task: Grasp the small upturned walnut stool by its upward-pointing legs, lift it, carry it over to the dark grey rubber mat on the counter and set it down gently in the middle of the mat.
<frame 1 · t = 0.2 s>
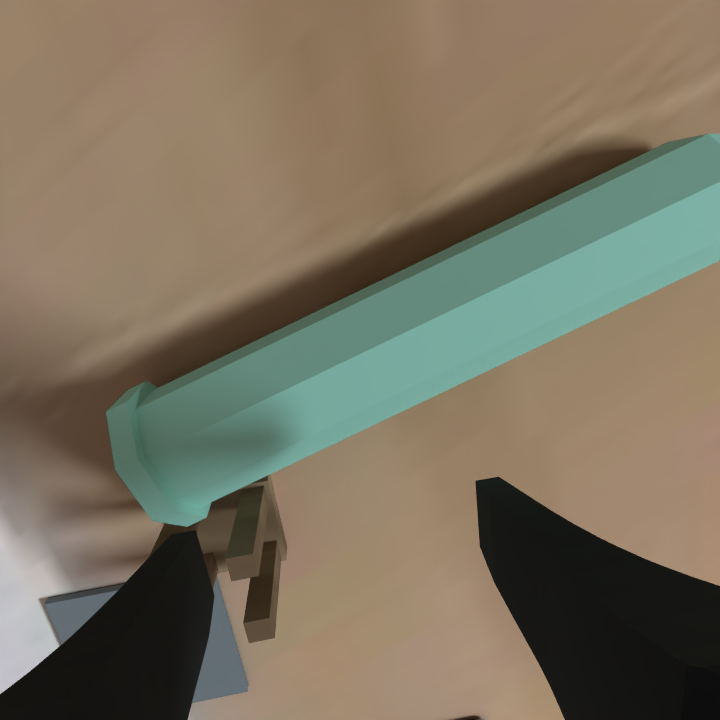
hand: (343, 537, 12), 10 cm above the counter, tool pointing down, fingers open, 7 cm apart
container: (427, 309, 21), on the counter
mat: (154, 643, 24), on the counter
stool: (233, 517, 23), on the counter
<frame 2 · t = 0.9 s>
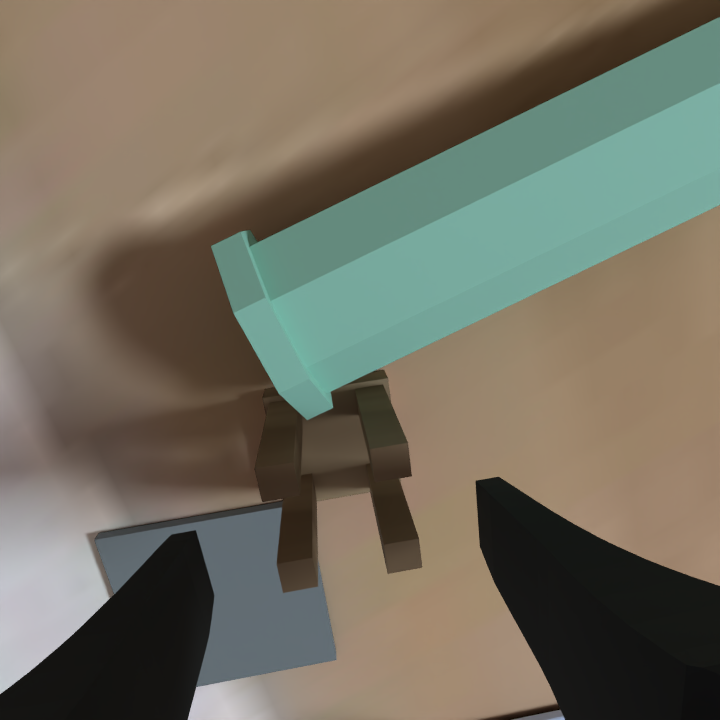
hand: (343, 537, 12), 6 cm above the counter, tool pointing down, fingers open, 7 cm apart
container: (596, 157, 16), on the counter
mat: (226, 596, 20), on the counter
stool: (333, 432, 18), on the counter
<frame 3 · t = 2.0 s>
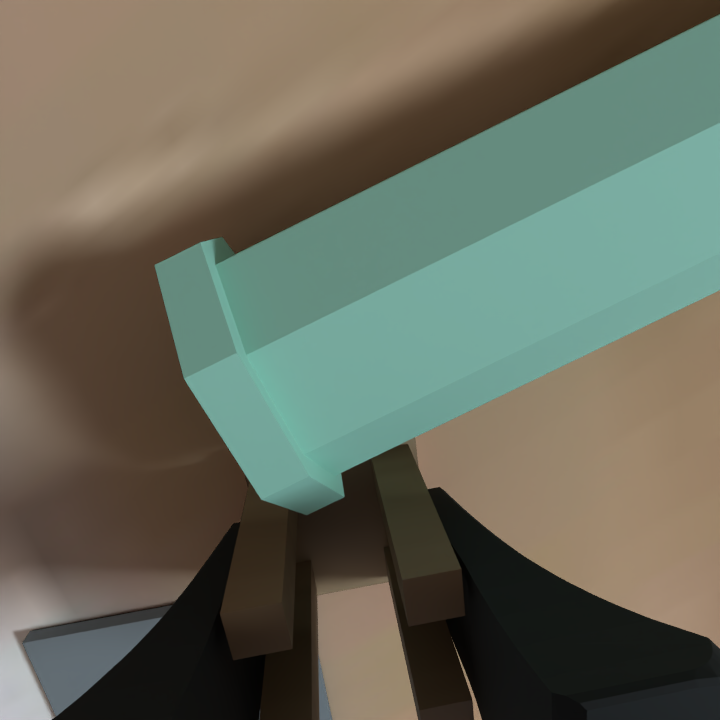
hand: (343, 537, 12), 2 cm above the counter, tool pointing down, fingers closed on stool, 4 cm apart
container: (698, 134, 12), on the counter
mat: (200, 703, 15), on the counter
stool: (339, 501, 14), on the counter, touching gripper
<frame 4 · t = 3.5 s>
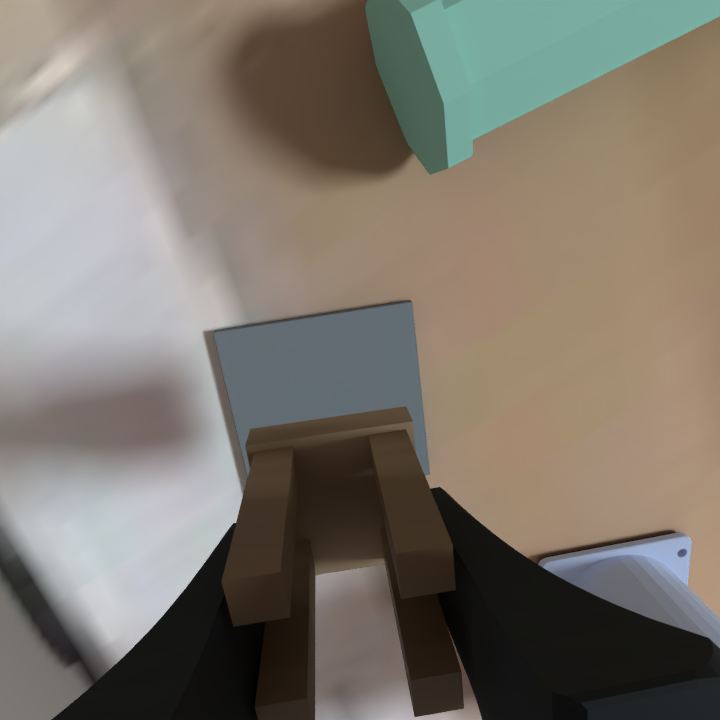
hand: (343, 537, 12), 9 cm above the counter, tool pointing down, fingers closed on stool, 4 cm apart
mat: (328, 405, 21), on the counter
stool: (339, 484, 14), point 7 cm above the counter, touching gripper
when the fingers open (2 cm above the counter, at t = 5.0 s): stool stays where it is, resting on mat.
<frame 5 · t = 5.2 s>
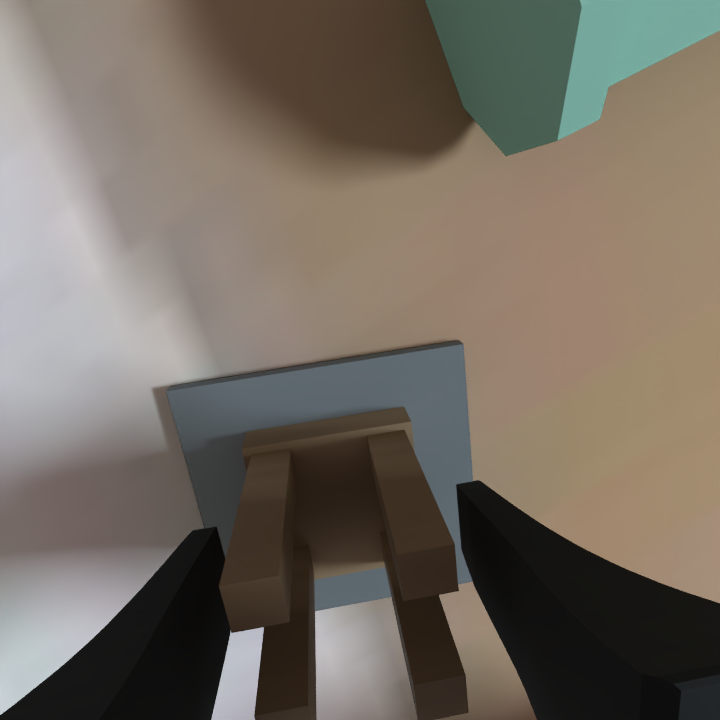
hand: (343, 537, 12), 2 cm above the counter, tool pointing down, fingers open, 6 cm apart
mat: (338, 488, 14), on the counter
stool: (337, 487, 14), resting on mat
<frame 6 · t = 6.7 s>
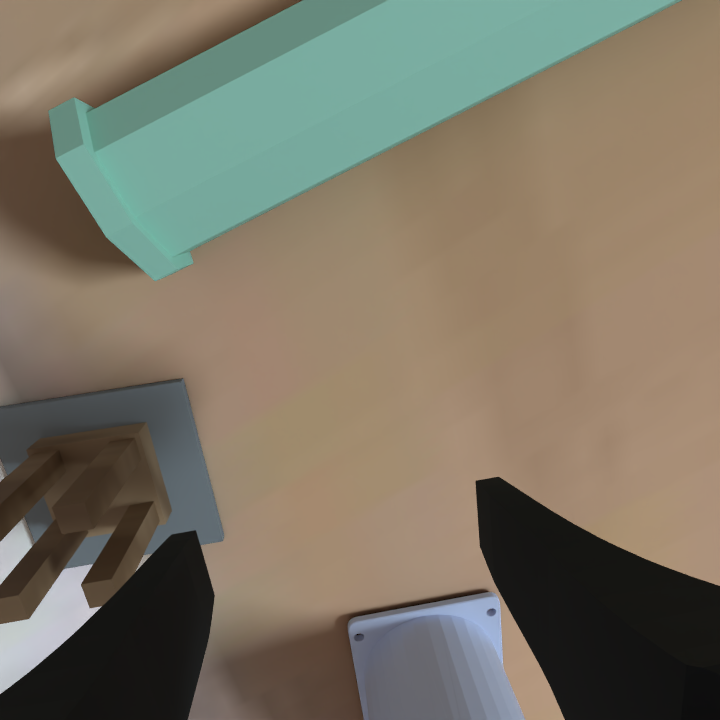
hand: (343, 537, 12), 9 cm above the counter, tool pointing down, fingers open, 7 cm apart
container: (439, 55, 18), on the counter
mat: (114, 476, 21), on the counter
stool: (108, 475, 21), resting on mat
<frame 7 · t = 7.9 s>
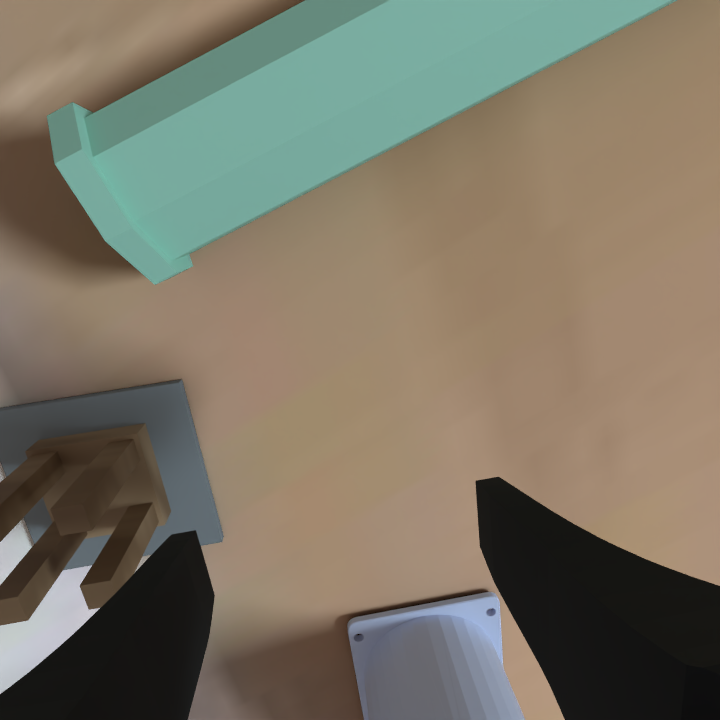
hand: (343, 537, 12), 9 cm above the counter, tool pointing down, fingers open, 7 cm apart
container: (436, 56, 18), on the counter
mat: (113, 477, 21), on the counter
stool: (107, 477, 21), resting on mat
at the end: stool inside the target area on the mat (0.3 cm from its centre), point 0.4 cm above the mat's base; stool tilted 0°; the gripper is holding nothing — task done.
